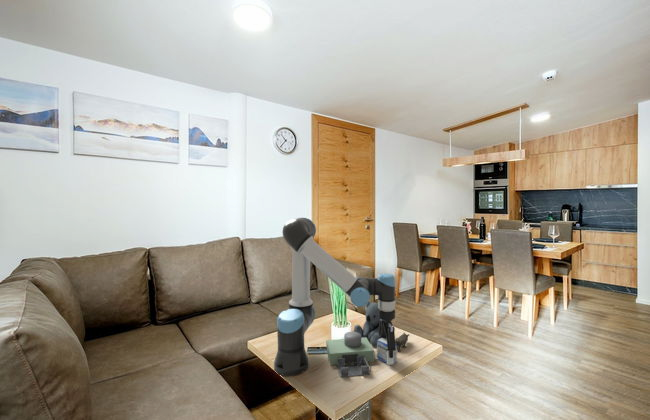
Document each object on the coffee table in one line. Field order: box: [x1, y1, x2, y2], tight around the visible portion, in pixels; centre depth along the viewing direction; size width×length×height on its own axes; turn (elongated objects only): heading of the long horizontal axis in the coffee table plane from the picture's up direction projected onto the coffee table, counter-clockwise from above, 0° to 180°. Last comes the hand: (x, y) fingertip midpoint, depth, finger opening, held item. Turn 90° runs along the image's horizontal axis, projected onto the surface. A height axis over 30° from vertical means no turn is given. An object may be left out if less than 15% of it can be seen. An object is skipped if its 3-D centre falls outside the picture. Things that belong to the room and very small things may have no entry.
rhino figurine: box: [395, 332, 410, 353], centre depth 147 cm, size 4×14×6 cm, turn 141°
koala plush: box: [353, 300, 387, 348], centre depth 156 cm, size 17×18×20 cm
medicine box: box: [376, 338, 398, 366], centre depth 133 cm, size 8×4×9 cm, turn 40°
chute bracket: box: [336, 356, 370, 378], centre depth 126 cm, size 12×9×4 cm
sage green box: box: [325, 331, 375, 366], centre depth 138 cm, size 20×13×9 cm, turn 97°
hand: (386, 358), depth 134 cm, fingers closed on medicine box, 9 cm apart
